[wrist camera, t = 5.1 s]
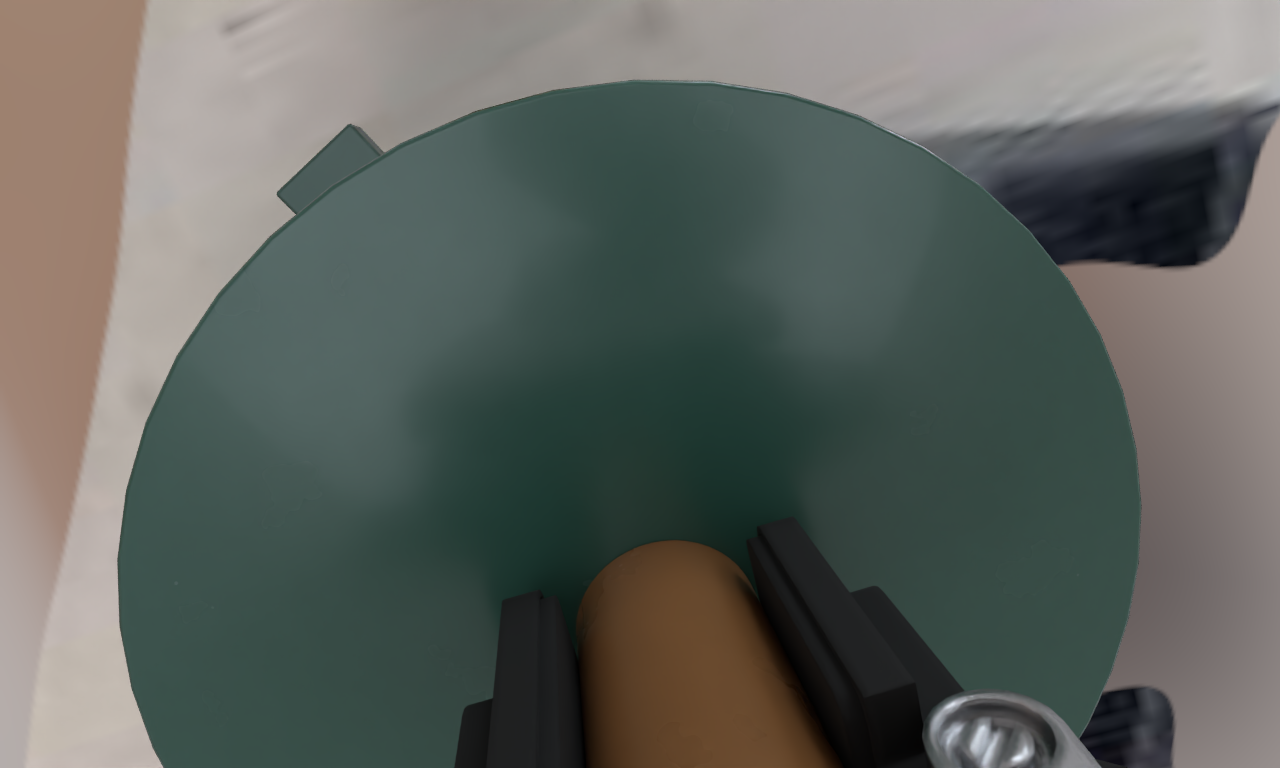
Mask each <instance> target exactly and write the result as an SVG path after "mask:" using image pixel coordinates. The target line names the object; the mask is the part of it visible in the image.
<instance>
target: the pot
mask: <svg viewBox="0 0 1280 768" xmlns="http://www.w3.org/2000/svg"><path fill="white" fill-rule="evenodd" d="M382 154H384V152H383V151H382V150H381V149H380V148H379V147H378V146H377V145H376V144H375V142H374V141H373V140H372V139H371V138H370V137H369V136H368V135H367V134H366V133H365V132H364V131H363V130H362V129H361V128H360V127H358V126H355V125H352V124H349V125H347V126H346V127H345V128H344V129H343V130H342V131H341V132H340V133H339V134H338V135H336V136H335V137H334V138H333V139H332V140H331V141H330V142H329V143H328V144H327V145H326V146H325V147H324V148H323V149H322V150H321V151H320V152H319V153H318V154H317V155H316V156H314V157H313V158H312V159H311V160H310V161H309V162H308V163H307V164H306V165H305V166H304V167H303V168H302V169H301V170H300V171H299V172H298V173H297V174H296V175H295V176H293V177H292V178H291V179H290V180H289V181H288V182H287V183H286V184H285V185H284V186H283V187H282V188H281V189H280V190H279V191H278V192H277V196H278V197H279V198H280V199H281V200H282V201H283V202H284V203H285V204H286V205H287V206H288V207H289V208H290V209H291V210H292V211H293V212H294V213H295V214H298V213H299V212H300V211H301V210H302V209H304V208H305V207H306V206H307V205H308V204H310V203H311V202H312V201H313V200H315V199H316V198H317V197H318V196H319V195H321V194H322V193H323V192H324V191H325V190H327V189H328V188H329V187H330V186H332V185H333V184H335V183H336V182H338V181H340V180H341V179H343V178H345V177H346V176H348V175H349V174H351V173H353V172H354V171H356V170H358V169H359V168H361V167H363V166H364V165H366V164H368V163H369V162H371V161H372V160H374V159H376V158H377V157H379V156H381V155H382Z"/></svg>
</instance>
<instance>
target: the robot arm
mask: <svg viewBox="0 0 1280 768" xmlns="http://www.w3.org/2000/svg"><path fill="white" fill-rule="evenodd" d="M757 535H758V536H757V537H754V538H750V539H747V541H746V542H747V548H748V553H749V557H750V561H751V566H752V570H753V574H754V578H755V583H756V587H757V591H758V595H759V599H760V603H761V605H762V607H763V609H764V611H765V613H766V615H767V617H768V619H769V621H770V623H771V625H772V627H773V629H774V631H775V633H776V635H777V637H778V639H779V641H780V643H781V645H782V646H783V648H784V650H785V652H786V654H787V656H788V658H789V660H790V662H791V664H792V666H793V668H794V670H795V672H796V674H797V676H798V678H799V680H800V682H801V684H802V686H803V688H804V690H805V692H806V694H807V696H808V697H809V699H810V701H811V703H812V705H813V707H814V709H815V711H816V713H817V715H818V717H819V719H820V721H821V723H822V725H823V727H824V729H825V731H826V733H827V735H828V737H829V739H830V741H831V743H832V745H833V747H834V749H835V750H836V752H837V754H838V756H839V758H840V760H841V762H842V764H843V766H844V768H1127V767H1123V766H1120V765H1116V764H1112V763H1108V762H1104V761H1101V760H1097V759H1094V758H1093V756H1092V755H1091V754H1090V753H1089V751H1088V750H1087V749H1086V748H1085V746H1084V745H1083V744H1082V743H1081V741H1080V740H1079V739H1078V738H1077V736H1076V735H1075V734H1074V733H1073V732H1072V730H1071V729H1070V728H1069V727H1068V725H1067V724H1066V723H1065V722H1064V720H1063V719H1061V718H1060V717H1059V716H1058V715H1057V714H1056V713H1055V712H1054V711H1053V710H1052V709H1050V708H1049V707H1048V706H1046V705H1044V704H1043V703H1041V702H1039V701H1037V700H1035V699H1033V698H1031V697H1029V696H1026V695H1023V694H1019V693H1016V692H1012V691H1009V690H999V689H986V688H985V689H977V690H969V691H964V689H963V688H962V687H961V686H960V684H959V683H958V682H957V681H956V680H955V678H954V677H953V676H952V675H951V673H950V672H949V671H948V670H947V669H946V667H945V666H944V665H943V664H942V662H941V661H940V660H939V659H938V658H937V656H936V655H935V654H934V653H933V651H932V650H931V649H930V648H929V647H928V645H927V644H926V643H925V642H924V640H923V639H922V638H921V637H920V636H919V634H918V633H917V632H916V631H915V629H914V628H913V627H912V626H911V625H910V623H909V622H908V621H907V620H906V618H905V617H904V616H903V615H902V614H901V612H900V611H899V610H898V609H897V607H896V606H895V605H894V604H893V603H892V601H891V600H890V599H889V598H888V596H887V595H886V594H885V593H884V592H883V591H882V590H881V589H880V588H879V587H878V586H871V587H867V588H864V589H861V590H857V591H854V592H849V591H848V590H847V588H846V587H845V585H844V584H843V583H842V581H841V580H840V579H839V577H838V576H837V575H836V573H835V572H834V570H833V569H832V568H831V566H830V565H829V564H828V562H827V561H826V560H825V558H824V557H823V556H822V554H821V553H820V551H819V550H818V549H817V547H816V546H815V545H814V543H813V542H812V541H811V539H810V538H809V536H808V535H807V534H806V532H805V531H804V530H803V528H802V527H801V526H800V524H799V523H798V522H797V520H796V519H795V518H794V517H793V516H791V517H788V518H784V519H781V520H778V521H774V522H771V523H767V524H764V525H760V526H757ZM454 768H586V760H585V746H584V733H583V719H582V705H581V692H580V678H579V665H578V659H577V656H576V653H575V649H574V646H573V643H572V640H571V637H570V634H569V631H568V628H567V625H566V621H565V618H564V615H563V612H562V609H561V606H560V603H559V600H558V598H557V596H556V595H554V596H550V597H547V598H544V596H543V594H542V592H541V591H540V589H539V590H536V591H532V592H529V593H525V594H522V595H518V596H515V597H511V598H508V599H504V600H503V601H502V607H501V617H500V627H499V638H498V648H497V659H496V669H495V680H494V690H493V698H491V699H488V700H485V701H481V702H478V703H475V704H471V705H468V706H466V707H465V708H464V711H463V715H462V720H461V726H460V733H459V740H458V746H457V753H456V760H455V767H454Z"/></svg>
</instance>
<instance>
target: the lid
mask: <svg viewBox="0 0 1280 768" xmlns="http://www.w3.org/2000/svg"><path fill="white" fill-rule="evenodd" d="M791 516H793V517H794V518H795V519H796V520H797V522H798V523H799V524H800V526H801V527H802V528H803V530H804V531H805V532H806V534H807V535H808V536H809V538H810V539H811V541H812V542H813V543H814V545H815V546H816V547H817V549H818V550H819V551H820V553H821V554H822V556H823V557H824V558H825V560H826V561H827V562H828V564H829V565H830V566H831V568H832V569H833V570H834V572H835V573H836V575H837V576H838V577H839V579H840V580H841V581H842V583H843V584H844V585H845V587H846V588H847V590H848V591H849V592H854V591H857V590H861V589H864V588H867V587H871V586H878V587H879V588H880V589H881V590H882V591H883V592H884V593H885V594H886V595H887V596H888V598H889V599H890V600H891V601H892V603H893V604H894V605H895V606H896V607H897V609H898V610H899V611H900V612H901V614H902V615H903V616H904V617H905V618H906V620H907V621H908V622H909V623H910V625H911V626H912V627H913V628H914V629H915V631H916V632H917V633H918V634H919V636H920V637H921V638H922V639H923V640H924V642H925V643H926V644H927V645H928V647H929V648H930V649H931V650H932V651H933V653H934V654H935V655H936V656H937V658H938V659H939V660H940V661H941V662H942V664H943V665H944V666H945V667H946V669H947V670H948V671H949V672H950V673H951V675H952V676H953V677H954V678H955V680H956V681H957V682H958V683H959V684H960V686H961V687H962V688H963V689H964V691H969V690H977V689H985V688H986V689H999V690H1009V691H1012V692H1016V693H1019V694H1023V695H1026V696H1029V697H1031V698H1033V699H1035V700H1037V701H1039V702H1041V703H1043V704H1044V705H1046V706H1048V707H1049V708H1050V709H1052V710H1053V711H1054V712H1055V713H1056V714H1057V715H1058V716H1059V717H1060V718H1061V719H1063V720H1064V722H1065V723H1066V724H1067V725H1068V727H1069V728H1070V729H1071V730H1072V732H1073V733H1074V734H1075V735H1076V736H1077V738H1078V739H1079V738H1080V737H1081V735H1082V733H1083V732H1084V730H1085V728H1086V727H1087V725H1088V723H1089V721H1090V719H1091V717H1092V714H1093V712H1094V710H1095V708H1096V706H1097V703H1098V701H1099V699H1100V697H1101V695H1102V692H1103V690H1104V688H1105V685H1106V683H1107V681H1108V679H1109V677H1110V675H1111V672H1112V669H1113V666H1114V663H1115V660H1116V657H1117V653H1118V650H1119V647H1120V644H1121V641H1122V638H1123V634H1124V631H1125V627H1126V625H1127V622H1128V618H1129V613H1130V608H1131V602H1132V597H1133V591H1134V586H1135V580H1136V575H1137V568H1138V564H1139V543H1140V524H1141V497H1140V486H1139V474H1138V463H1137V451H1136V445H1135V441H1134V437H1133V432H1132V428H1131V424H1130V420H1129V415H1128V411H1127V407H1126V403H1125V398H1124V394H1123V390H1122V388H1121V385H1120V383H1119V380H1118V378H1117V375H1116V372H1115V370H1114V367H1113V365H1112V362H1111V360H1110V357H1109V355H1108V352H1107V350H1106V347H1105V345H1104V342H1103V339H1102V337H1101V335H1100V333H1099V331H1098V329H1097V328H1096V326H1095V324H1094V322H1093V321H1092V319H1091V317H1090V316H1089V314H1088V312H1087V310H1086V309H1085V307H1084V305H1083V304H1082V302H1081V300H1080V298H1079V296H1078V295H1077V293H1076V291H1075V290H1074V288H1073V286H1072V284H1071V283H1070V281H1069V280H1068V278H1067V277H1066V276H1065V275H1064V273H1063V272H1062V271H1061V270H1060V268H1059V267H1058V266H1057V265H1056V263H1055V262H1054V261H1053V260H1052V258H1051V257H1050V256H1049V255H1048V253H1047V252H1046V251H1045V250H1044V248H1043V247H1042V246H1041V245H1040V243H1039V242H1038V241H1037V240H1036V238H1035V237H1034V236H1033V235H1032V233H1031V232H1030V231H1029V230H1028V229H1027V228H1026V227H1025V226H1024V225H1023V224H1022V223H1021V222H1020V221H1019V220H1017V219H1016V218H1015V217H1014V216H1013V215H1012V214H1011V213H1010V212H1009V211H1008V210H1007V209H1006V208H1004V207H1003V206H1002V205H1001V204H1000V203H999V202H998V201H997V200H996V199H995V198H994V197H993V196H991V195H990V194H989V193H988V192H987V191H986V190H985V189H984V188H983V187H982V186H981V185H979V184H978V183H977V182H975V181H974V180H972V179H971V178H969V177H968V176H966V175H965V174H963V173H962V172H960V171H959V170H957V169H956V168H954V167H953V166H951V165H950V164H949V163H947V162H946V161H944V160H943V159H941V158H940V157H938V156H937V155H935V154H934V153H932V152H931V151H929V150H928V149H926V148H925V147H923V146H922V145H920V144H917V143H915V142H913V141H911V140H909V139H907V138H905V137H903V136H901V135H899V134H897V133H895V132H892V131H890V130H888V129H886V128H884V127H882V126H880V125H878V124H876V123H874V122H872V121H870V120H867V119H865V118H863V117H861V116H859V115H856V114H853V113H850V112H847V111H844V110H840V109H837V108H834V107H831V106H827V105H824V104H821V103H818V102H815V101H811V100H808V99H805V98H802V97H798V96H795V95H792V94H789V93H784V92H778V91H771V90H765V89H759V88H752V87H746V86H740V85H733V84H727V83H721V82H714V81H672V80H628V81H621V82H613V83H605V84H597V85H589V86H581V87H573V88H565V89H557V90H552V91H548V92H544V93H541V94H537V95H533V96H530V97H526V98H522V99H519V100H515V101H511V102H508V103H504V104H500V105H497V106H493V107H489V108H485V109H482V110H478V111H475V112H472V113H470V114H468V115H465V116H463V117H461V118H458V119H456V120H454V121H451V122H449V123H447V124H445V125H442V126H440V127H438V128H435V129H433V130H431V131H428V132H426V133H424V134H421V135H419V136H417V137H414V138H412V139H410V140H407V141H405V142H403V143H400V144H399V145H397V146H395V147H394V148H392V149H391V150H389V151H387V152H386V153H384V154H382V155H381V156H379V157H377V158H376V159H374V160H372V161H371V162H369V163H368V164H366V165H364V166H363V167H361V168H359V169H358V170H356V171H354V172H353V173H351V174H349V175H348V176H346V177H345V178H343V179H341V180H340V181H338V182H336V183H335V184H333V185H332V186H330V187H329V188H328V189H327V190H325V191H324V192H323V193H322V194H321V195H319V196H318V197H317V198H316V199H315V200H313V201H312V202H311V203H310V204H308V205H307V206H306V207H305V208H304V209H302V210H301V211H300V212H299V213H298V214H296V215H295V216H294V217H293V218H292V219H290V220H289V221H288V222H287V223H285V224H284V225H283V226H282V227H281V228H279V229H278V230H277V231H276V232H275V233H273V234H272V235H271V236H270V237H269V238H268V239H267V240H266V241H265V242H264V244H263V245H262V246H261V247H260V248H259V249H258V250H257V251H256V252H255V253H254V255H253V256H252V257H251V258H250V259H249V260H248V261H247V262H246V263H245V265H244V266H243V267H242V268H241V269H240V270H239V271H238V272H237V273H236V274H235V276H234V277H233V278H232V279H231V280H230V281H229V282H228V283H227V284H226V286H225V287H224V288H223V289H222V290H221V291H220V292H219V293H218V295H217V296H216V298H215V299H214V301H213V302H212V304H211V305H210V307H209V308H208V310H207V311H206V313H205V314H204V316H203V317H202V319H201V320H200V322H199V323H198V325H197V326H196V328H195V329H194V331H193V332H192V334H191V335H190V337H189V338H188V340H187V341H186V343H185V344H184V346H183V347H182V349H181V350H180V352H179V353H178V355H177V356H176V359H175V361H174V363H173V365H172V367H171V369H170V371H169V374H168V376H167V378H166V380H165V382H164V384H163V386H162V389H161V391H160V393H159V395H158V397H157V399H156V402H155V404H154V406H153V408H152V410H151V412H150V414H149V417H148V419H147V421H146V423H145V427H144V430H143V434H142V437H141V441H140V444H139V448H138V451H137V455H136V458H135V461H134V465H133V468H132V472H131V475H130V479H129V482H128V486H127V489H126V495H125V503H124V511H123V519H122V527H121V535H120V543H119V551H118V560H117V562H118V592H119V622H120V631H121V636H122V641H123V646H124V651H125V657H126V662H127V667H128V672H129V677H130V682H131V688H132V691H133V694H134V697H135V699H136V702H137V705H138V708H139V711H140V713H141V716H142V719H143V722H144V725H145V727H146V730H147V733H148V736H149V738H150V741H151V744H152V747H153V749H154V751H155V753H156V755H157V756H158V758H159V760H160V762H161V764H162V766H163V768H454V767H455V760H456V753H457V746H458V740H459V733H460V726H461V720H462V715H463V711H464V708H465V707H466V706H468V705H471V704H475V703H478V702H481V701H485V700H488V699H491V698H493V690H494V680H495V669H496V659H497V648H498V638H499V627H500V617H501V607H502V601H503V600H504V599H508V598H511V597H515V596H518V595H522V594H525V593H529V592H532V591H536V590H539V589H540V591H541V592H542V594H543V596H544V598H547V597H550V596H554V595H556V596H557V598H558V600H559V603H560V606H561V609H562V612H563V615H564V618H565V621H566V625H567V628H568V631H569V634H570V637H571V640H572V643H573V646H574V649H575V653H576V656H577V659H578V665H579V678H580V692H581V705H582V719H583V733H584V746H585V760H586V768H844V766H843V764H842V762H841V760H840V758H839V756H838V754H837V752H836V750H835V749H834V747H833V745H832V743H831V741H830V739H829V737H828V735H827V733H826V731H825V729H824V727H823V725H822V723H821V721H820V719H819V717H818V715H817V713H816V711H815V709H814V707H813V705H812V703H811V701H810V699H809V697H808V696H807V694H806V692H805V690H804V688H803V686H802V684H801V682H800V680H799V678H798V676H797V674H796V672H795V670H794V668H793V666H792V664H791V662H790V660H789V658H788V656H787V654H786V652H785V650H784V648H783V646H782V645H781V643H780V641H779V639H778V637H777V635H776V633H775V631H774V629H773V627H772V625H771V623H770V621H769V619H768V617H767V615H766V613H765V611H764V609H763V607H762V605H761V603H760V599H759V595H758V591H757V587H756V583H755V578H754V574H753V570H752V566H751V561H750V557H749V553H748V548H747V542H746V541H747V539H750V538H754V537H757V536H758V535H757V526H760V525H764V524H767V523H771V522H774V521H778V520H781V519H784V518H788V517H791Z"/></svg>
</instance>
